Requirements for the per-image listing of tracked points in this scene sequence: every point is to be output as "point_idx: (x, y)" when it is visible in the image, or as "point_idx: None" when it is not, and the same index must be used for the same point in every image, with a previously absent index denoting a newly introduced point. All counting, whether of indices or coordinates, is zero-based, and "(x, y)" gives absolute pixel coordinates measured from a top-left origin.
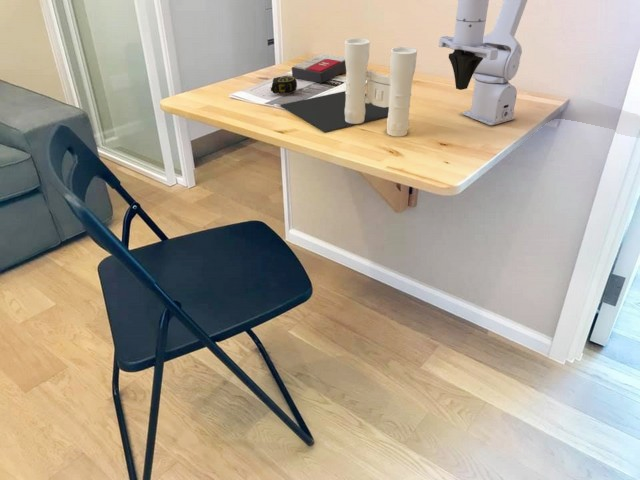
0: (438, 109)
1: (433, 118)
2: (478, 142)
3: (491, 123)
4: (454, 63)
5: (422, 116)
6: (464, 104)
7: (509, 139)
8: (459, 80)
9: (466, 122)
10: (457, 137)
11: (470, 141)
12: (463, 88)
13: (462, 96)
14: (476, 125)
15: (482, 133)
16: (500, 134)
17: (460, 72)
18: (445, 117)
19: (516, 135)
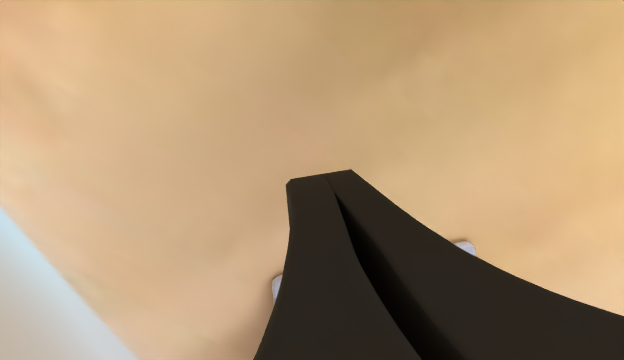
0: (596, 180)
1: (530, 88)
2: (103, 104)
3: (278, 287)
4: (493, 321)
5: (592, 50)
6: None
7: (81, 265)
8: (316, 220)
9: None
10: (226, 39)
11: (136, 72)
12: (290, 220)
13: None
14: None
15: (213, 195)
16: (160, 262)
17: (326, 284)
18: (497, 152)
19: (117, 315)
